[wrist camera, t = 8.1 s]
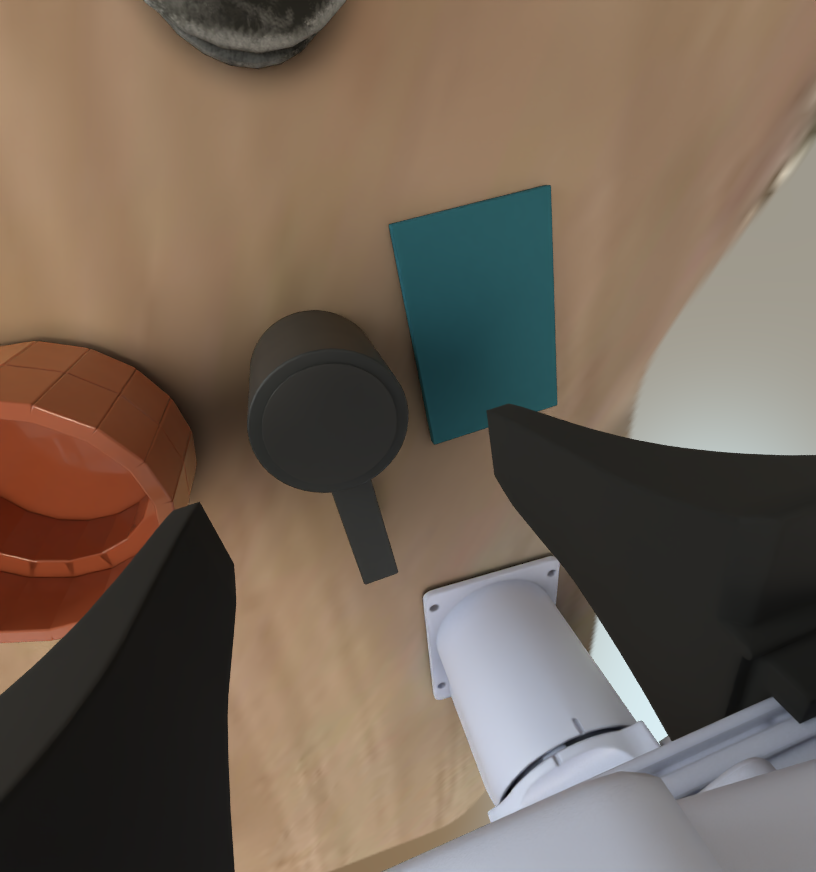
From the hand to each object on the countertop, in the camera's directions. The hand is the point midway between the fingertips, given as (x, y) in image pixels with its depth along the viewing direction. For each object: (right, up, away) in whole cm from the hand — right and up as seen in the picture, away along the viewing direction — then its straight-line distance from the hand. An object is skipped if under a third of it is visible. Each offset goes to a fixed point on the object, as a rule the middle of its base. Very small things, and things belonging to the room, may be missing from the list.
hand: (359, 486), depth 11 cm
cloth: (+4, +6, +7) cm, 10 cm away
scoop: (-2, +2, +8) cm, 8 cm away
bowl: (-11, +1, +5) cm, 12 cm away
